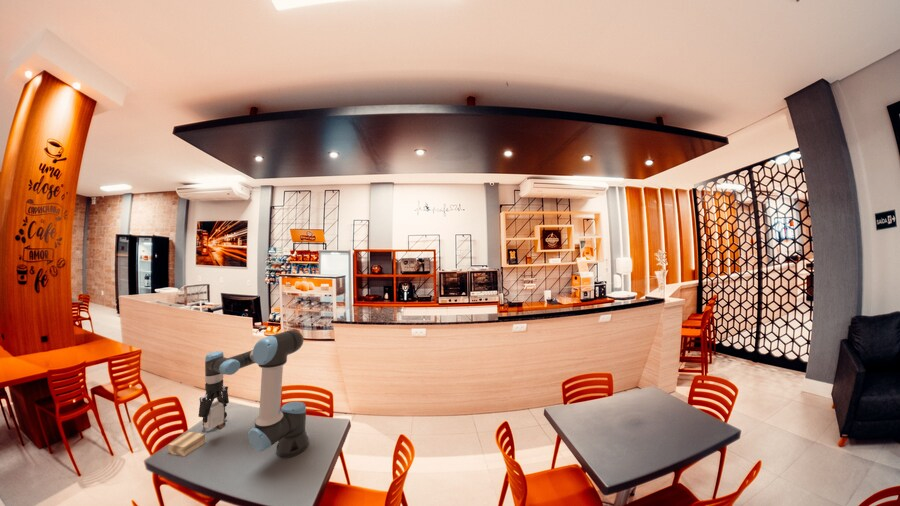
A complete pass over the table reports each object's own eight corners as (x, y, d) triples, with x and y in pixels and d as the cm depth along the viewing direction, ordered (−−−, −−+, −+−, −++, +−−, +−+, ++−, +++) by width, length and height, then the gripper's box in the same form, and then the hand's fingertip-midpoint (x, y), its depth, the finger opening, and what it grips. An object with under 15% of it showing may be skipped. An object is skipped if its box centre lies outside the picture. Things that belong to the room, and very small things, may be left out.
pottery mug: (217, 433, 157) (208, 422, 156) (205, 438, 159) (196, 428, 157) (234, 416, 169) (226, 405, 167) (223, 420, 171) (214, 410, 169)
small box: (223, 423, 151) (223, 404, 151) (210, 428, 146) (210, 409, 146) (217, 418, 155) (217, 399, 155) (204, 423, 150) (204, 404, 150)
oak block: (204, 443, 149) (204, 434, 149) (184, 457, 139) (184, 447, 139) (189, 440, 151) (189, 431, 151) (168, 453, 141) (168, 444, 141)
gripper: (226, 372, 161) (226, 411, 161) (188, 389, 141) (188, 434, 141) (237, 373, 159) (237, 413, 159) (200, 390, 140) (200, 435, 140)
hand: (214, 422), depth 150 cm, fingers closed on small box, 7 cm apart
